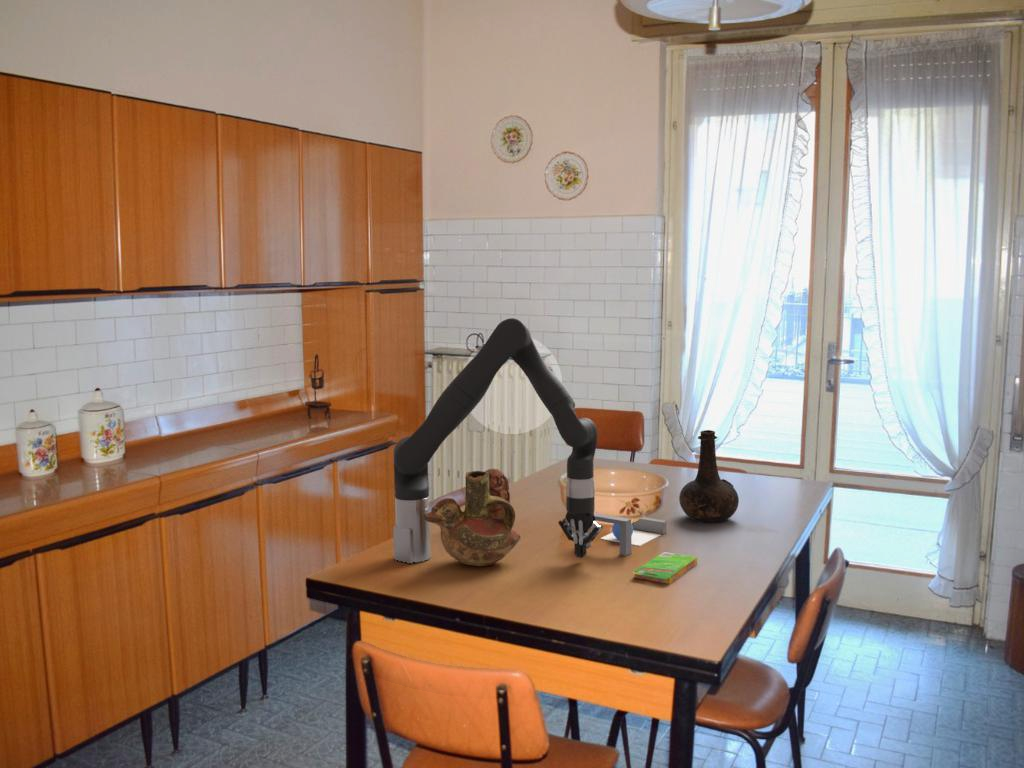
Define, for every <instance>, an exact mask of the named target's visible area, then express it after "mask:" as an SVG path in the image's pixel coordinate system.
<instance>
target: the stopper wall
mask: <svg viewBox="0 0 1024 768" xmlns="http://www.w3.org/2000/svg"><path fill="white" fill-rule="evenodd" d="M642 517H643V518H642V519H639V520H638V521H636V522H633V523H632V526H633V530H637V531H643V532H649V533H655V534H660V535H664V534H666V533H667V520H664V519H657V518H650V517H644V516H642Z"/></svg>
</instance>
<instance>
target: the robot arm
mask: <svg viewBox="0 0 1024 768" xmlns="http://www.w3.org/2000/svg"><path fill="white" fill-rule="evenodd" d="M509 359H511V360H512V361H514V362H515V364H516V365H517V366H519V368H520V369H521V371H522V372H523V373H524V375H525V376H526V378H527V379H528V381H529V383H530V384H531V386H532V388H533V389H534V391H535V393H536V394H537V396H538V397H539V399H540V401H541V402H542V404H543V405H544V407H545V408H546V409H547V411H548V412H549V414H550V415H551V416H552V418H553V421H554V424H555V426H556V429H557V430H558V433H559V434H560V437H561V438H562V440H563V441H564V442H565V444H567V446H570V447H571V453H570V455H569V456H568V457H567V460H566V483H565V492H566V493H565V502H566V503H565V508H566V509H565V510H566V513H565V517H564V518H563V519H561V520H559V521H558V525H559V526H560V527H559V528H561V529H562V532H563V533H564V534H565V536H566V538H567V540H568V541H572V542H573V543H574V544H573V545H574V555H575V556H576V557H575V558H579V559H583V558H584V557H586V555H587V548H586V544H587V543H589V542H591V543H592V542H593V541H594V540H595V539H596V537H597V536H598V535H599V534H600V532H601V531H602V530H603V527H604V526H603V525H602V524H598V522H597V521H596V520H595V517H594V513H595V493H596V492H595V491H596V490H595V481H594V480H595V479H594V477H595V476H594V459H595V454H596V448H597V442H598V429H597V425H596V423H595V422H594V421H593V420H592V419H590V418H588V417H580V418H578V416H577V414H576V412H575V410H574V409H575V408H576V403H575V400H574V399H573V397H572V396H571V395H570V394H569V392H568V391H567V389H566V388H565V386H564V385H563V383H562V382H561V381H560V380H559V378H558V377H557V376H556V375H555V374H554V373H553V371H552V369H551V368H550V367H549V366H548V365H547V364H546V362H545V360H544V358H543V357H542V356H541V354H540V352H539V350H538V349H537V347H536V345H535V343H534V341H533V338H532V336H531V332H530V330H529V328H528V326H527V325H526V324H525V323H524V322H523V321H521V320H520V319H518V318H516V317H515V318H506V319H504V320H502V321H500V322H499V324H497V325H496V327H495V329H493V331H492V333H491V334H490V335H489V337H488V339H487V340H486V342H485V343H484V344H483V346H482V347H481V349H480V350H479V351H478V353H477V354H476V355H475V356H474V357H473V358H472V359H471V360H470V361H469V362H468V363H467V364H466V365H465V367H464V368H463V369H462V370H461V371H460V372H459V373H458V374H457V376H455V378H453V380H452V381H451V382H450V383H449V384H448V386H447V387H445V389H444V390H443V392H442V393H441V394H440V396H439V397H438V398H437V400H436V402H435V403H434V405H433V407H432V408H431V410H430V412H429V413H428V415H427V417H426V419H425V420H424V421H423V423H422V424H421V425H420V426H419V427H418V428H417V430H415V431H414V432H413V433H412V434H411V436H405V437H403V438H401V439H400V440H399V441H398V442H397V443H396V444H395V446H394V448H393V449H394V450H393V475H394V477H393V479H394V482H393V483H394V485H393V486H394V507H395V509H394V510H395V511H394V513H395V525H394V526H393V528H392V530H393V560H394V559H395V560H394V561H397V560H398V561H397V562H401V561H402V562H403V563H405V562H407V563H406V564H410V563H411V564H414V563H413V562H415V563H422V562H425V560H426V561H428V560H430V558H431V529H430V528H431V527H430V526H431V525H430V523H431V522H427V521H426V520H425V517H424V515H425V514H427V513H429V512H430V489H429V488H430V484H429V483H430V482H429V467H428V466H429V462H430V461H431V459H432V458H433V456H434V455H435V454H436V452H437V451H438V449H439V448H440V446H441V445H442V444H443V442H444V441H445V440H446V439H447V437H449V436H450V435H451V433H453V432H454V431H455V430H456V429H457V428H458V427H459V426H460V424H461V423H462V422H463V421H464V420H465V419H466V418H467V417H468V416H469V415H470V414H471V413H472V411H473V410H474V409H476V407H477V406H478V405H479V404H480V402H481V401H482V399H483V398H484V397H485V395H486V393H487V391H488V389H490V386H491V384H492V383H493V380H494V378H495V377H496V375H497V373H498V371H500V370H501V368H502V367H503V366H504V364H506V362H508V360H509ZM590 528H591V533H590V534H589V529H590ZM588 534H589V535H588ZM421 561H422V562H421ZM402 562H401V563H402Z"/></svg>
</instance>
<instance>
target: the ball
mask: <svg viewBox="0 0 1024 768" xmlns="http://www.w3.org/2000/svg"><path fill="white" fill-rule="evenodd" d="M612 525H613V526H612V529H611V530H612V531H611V533H612V532H613V535H614V536H615V537H616V538H617V539H619V540H620V525H619V524H612ZM633 530H634V529H633V526H632V524H631V536H632V534H633Z"/></svg>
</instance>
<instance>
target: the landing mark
mask: <svg viewBox="0 0 1024 768" xmlns="http://www.w3.org/2000/svg"><path fill="white" fill-rule="evenodd" d="M660 536H661V537H662V534H660V533H654V532H649V531H643V530H637V529H633V534H632V536H631V546H636V547H641V546H643V545H645V544H647V543H650V542H651V541H653V540H655V539H657V538H659V537H660ZM599 539H600V540H604V541H610V542H613V543H614V542H615V543H620V540H619V539H617V538H616V537H615V536H614V535H613V532H612V531H611V533H608V534H607V535H604V536H602V537H600V538H599Z"/></svg>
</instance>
